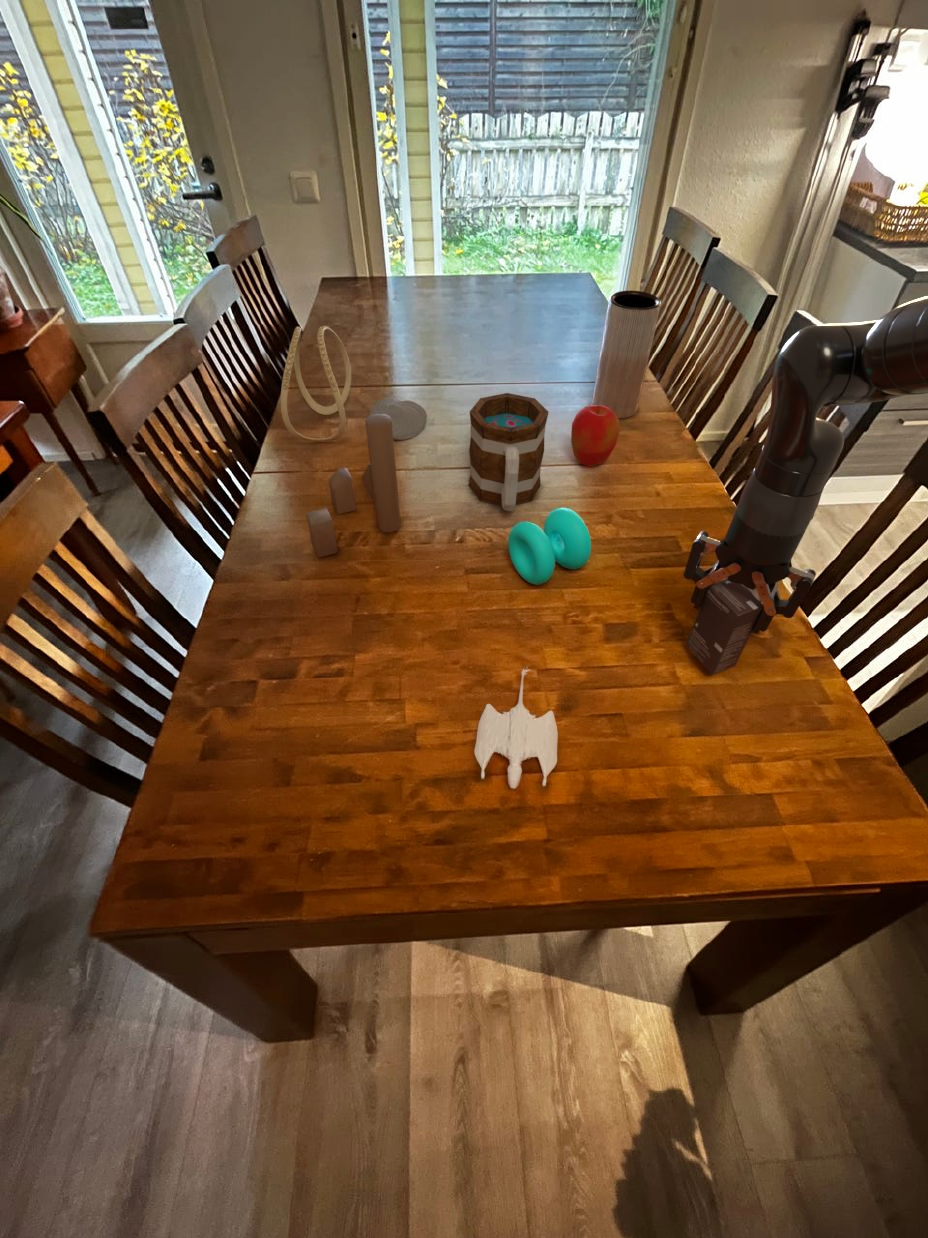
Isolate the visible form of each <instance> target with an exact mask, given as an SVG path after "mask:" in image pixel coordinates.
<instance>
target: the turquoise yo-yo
mask: <svg viewBox="0 0 928 1238" xmlns="http://www.w3.org/2000/svg"><path fill="white" fill-rule="evenodd" d="M507 546H508V552H509V556H510V559H511V562H512V565H513V567H514V568H515V570H516V571H517V573H518V574H519V575H520V576H521V578H522V579H523V580H525V581H526V582H527V583H529V584H533V585H542V584H545V583H546V582H548V581H549V580H550V579H551V577H552V576H553V574H554V571H555V567H556V563H557V564H558V565H560V566H561V567H563V568H566V569H569V570H578V569H580V568H582V567H583V566H585V565H586V564H587V563H588V561H589V559H590V556H591V554H592V538H591V534H590V531H589V529H588V527H587V525H586V523H585V522H584V520H583V518H582V517H581V516H580V515H579V514H578V513H577V512H575V511H574V510H572V508H568V507H557V508H554V509H553V510H552V511H550V512H549V514H548V515H547V516H546V519H545V521H544V525H543V529H542V528H541V527H540V526H539V525H537V524H536V523H534V522H531V521H520V522H518V523H516V524H514V526H512V528H511V530H510V531H509V534H508V540H507Z"/></svg>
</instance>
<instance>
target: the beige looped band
mask: <svg viewBox="0 0 928 1238" xmlns="http://www.w3.org/2000/svg"><path fill="white" fill-rule="evenodd" d="M325 332H327V333H328V334H329V335H330V337H331V338H332V339H333V341H334V343H335V344H336V346H337V348H338V349H339V351H340V354H341V357H342V360H343V363H344V369H345V379H344V380H345V381H344V386H343V390H342V392H341V393H340V389H339V386H338V383H337V380H336V377H335V375H334V372H333V369H332V365H331V362H330V359H329V356H328V353H327V349H326V344H325ZM316 337H317V345H318V350H319V355H320V358H321V359H320V360H321V362H322V365H323V368H324V369H323V370H324V371H325V374H326V377H327V381H328V383H329V386H330V389H331V391H332V395H333V397H334V401H335V402H334V403H333V404H331V405H328V406H323V405H321V404H319V403H318V402H317V401H315V400H314V399H313V397H312V396H311V394H310V392H309V391H308V390H307V388H306V385H305V383H304V380H303V377H302V372H301V366H300V351H301V350H300V349H301V339H302V327H301V326H295V328H294V330H293V334H292V337H291V341H290V345H289V348H288V352H287V357H286V361H285V367H284V370H283V376H282V381H281V388H280V389H281V390H280V412H281V418H282V421H283V424H284V426H285V428H286V430H287V431H288V432H289V433H290V434H291V435H292V436H293V437H295V438H297V439H299V440H302V441H305V442H306V441H307V442H314V443H315V442H317V443H319V442H321V443H322V442H332V441H337V440H339V439H341V438H342V437H343V436H344V434H345V432H346V428H347V416H346V411H345V405H344V404H345V403H346V401H347V398H348V397H349V394H350V390H351V385H352V367H351V361H350V358H349V355H348V352H347V350H346V347H345V345H344V343H343V342H342V340H341V338H340V337H339V335H338V334H337V333H336V332H335V331H334V330H333V329H332V328H331V327H330V326H327V325H322V326H320V327H319V328H318V329H317V335H316ZM293 368H294V374H295V378H296V382H297V385H298V388H299V390H300V393H301V396H302V397H303V399H304V401H305V402H306V403H307V405H308V406H309V407H310V408H311V409H312V410H313V411H314V412H316V413H317V414H320V415H323V416H329V415H333V414H335V413H337V412H338V417H339V426H338V430H337V432H336V433H335V434H334V435H332V436H330V437H325V438H314V437H313V438H312V437H308V436H305V435H302V434H301V433H299V432H298V431H297V430H296V429H295V428H294V427H293V424H292V423H291V421H290V418H289V412H288V395H289V386H290V380H291V376H292V375H291V374H292V371H293V370H292V369H293Z"/></svg>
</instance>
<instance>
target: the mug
mask: <svg viewBox="0 0 928 1238" xmlns="http://www.w3.org/2000/svg"><path fill="white" fill-rule="evenodd" d="M473 405H474V406H472V408H471V409H470V410H469V419H470V427H471V428H470V440H469V447H468V448H469V449H468V453H469V463H470V464H469V465H470V466H469V467H470V468H469V469H470V470H469V479H468V487H469V489H470V490H471V492H472V493H473V494H474V495H475V497H476V498H477V500H478V501H479V502H483V503H487V504H490V505H494V506H499V507H501V508H502V509H503V510H504V511H508V512H509V511H510V512H511V511H513V510H515V509H516V506H518V505H522V504H527V503H530V502H532V501H533V500H534V498H535V496H536V495H537V493H538V491H539V490H540V488H541V470H542V462H543V458H544V453H545V433H546V424H547V420H548V416H549V410H547V409H546V407H544V406H543V405H542V404H541V403H540V401H538V400H537V399H536V398H535V397H531V396H525V395H520V394H515V393H509V392H505V393H500V394H499V393H498V394H493V395H489V396H484V397H480V398H479V399H478V400H477V402H476V403H475V404H473Z"/></svg>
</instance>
